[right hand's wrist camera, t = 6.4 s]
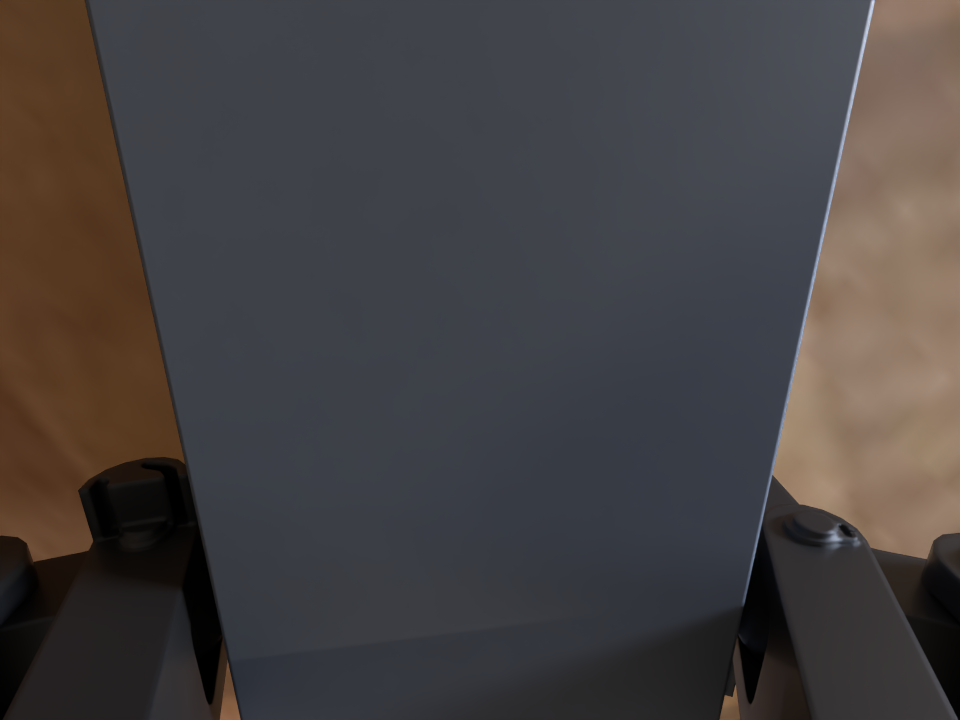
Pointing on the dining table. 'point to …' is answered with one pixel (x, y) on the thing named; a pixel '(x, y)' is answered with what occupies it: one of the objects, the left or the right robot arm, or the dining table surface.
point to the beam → (479, 330)
